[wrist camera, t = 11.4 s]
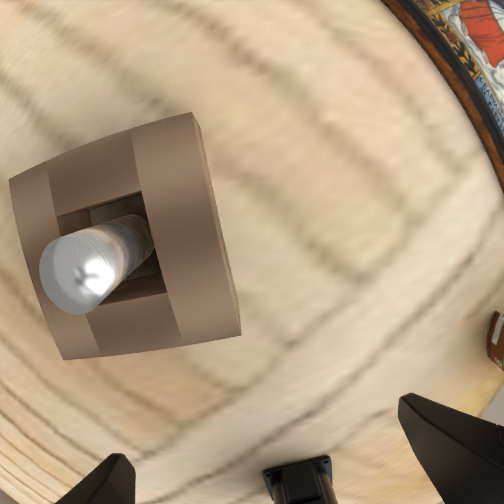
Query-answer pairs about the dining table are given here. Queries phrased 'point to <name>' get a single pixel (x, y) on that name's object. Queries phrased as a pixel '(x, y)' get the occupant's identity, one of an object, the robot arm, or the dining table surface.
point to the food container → (496, 340)
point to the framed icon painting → (465, 59)
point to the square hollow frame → (163, 233)
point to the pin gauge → (93, 262)
